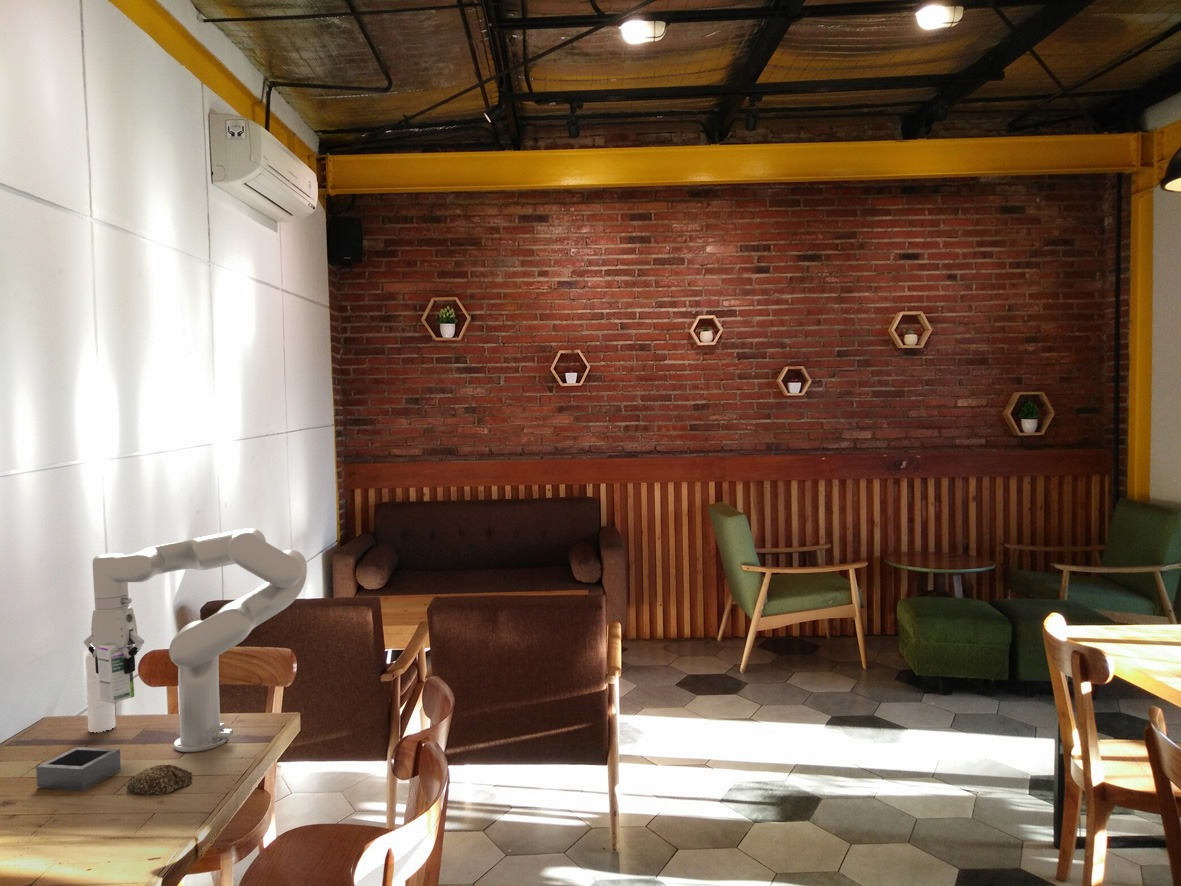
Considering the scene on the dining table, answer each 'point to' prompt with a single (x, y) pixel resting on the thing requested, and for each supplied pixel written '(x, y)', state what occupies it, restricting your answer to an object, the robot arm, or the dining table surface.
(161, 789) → the bread roll
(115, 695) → the syrup box
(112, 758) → the socket
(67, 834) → the dining table surface
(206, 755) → the dining table surface
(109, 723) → the water bottle
